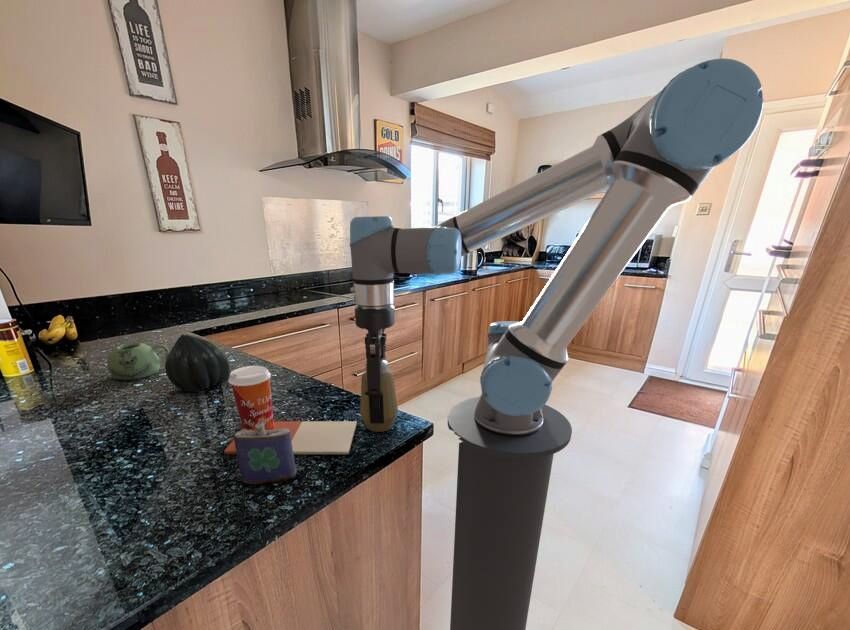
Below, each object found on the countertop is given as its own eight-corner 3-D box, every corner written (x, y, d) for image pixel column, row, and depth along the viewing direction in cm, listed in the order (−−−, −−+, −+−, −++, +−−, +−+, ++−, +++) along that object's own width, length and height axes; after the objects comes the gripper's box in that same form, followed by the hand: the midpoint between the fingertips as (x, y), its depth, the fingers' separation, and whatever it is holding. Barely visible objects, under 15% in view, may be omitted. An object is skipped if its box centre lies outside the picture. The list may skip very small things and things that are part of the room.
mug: (110, 386, 107) (100, 356, 104) (111, 372, 117) (102, 344, 114) (175, 373, 115) (168, 345, 112) (171, 361, 125) (164, 335, 122)
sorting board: (357, 423, 85) (356, 421, 85) (348, 454, 74) (348, 451, 74) (248, 423, 86) (248, 421, 86) (224, 454, 75) (223, 451, 75)
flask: (297, 470, 70) (289, 417, 65) (295, 480, 67) (286, 426, 63) (244, 474, 69) (232, 421, 64) (239, 485, 66) (227, 430, 62)
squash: (235, 372, 100) (217, 322, 103) (169, 387, 93) (153, 333, 96) (235, 391, 112) (219, 346, 115) (177, 406, 105) (162, 357, 108)
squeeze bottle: (384, 413, 89) (381, 337, 82) (406, 427, 83) (404, 346, 76) (353, 424, 85) (348, 344, 78) (374, 439, 79) (369, 354, 72)
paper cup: (249, 449, 75) (236, 382, 70) (234, 435, 80) (221, 371, 75) (287, 435, 80) (277, 371, 74) (270, 422, 85) (260, 361, 80)
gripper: (361, 295, 83) (366, 392, 92) (345, 318, 64) (354, 438, 73) (396, 294, 83) (398, 392, 92) (391, 318, 64) (394, 438, 73)
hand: (379, 412), depth 83 cm, fingers closed on squeeze bottle, 8 cm apart
